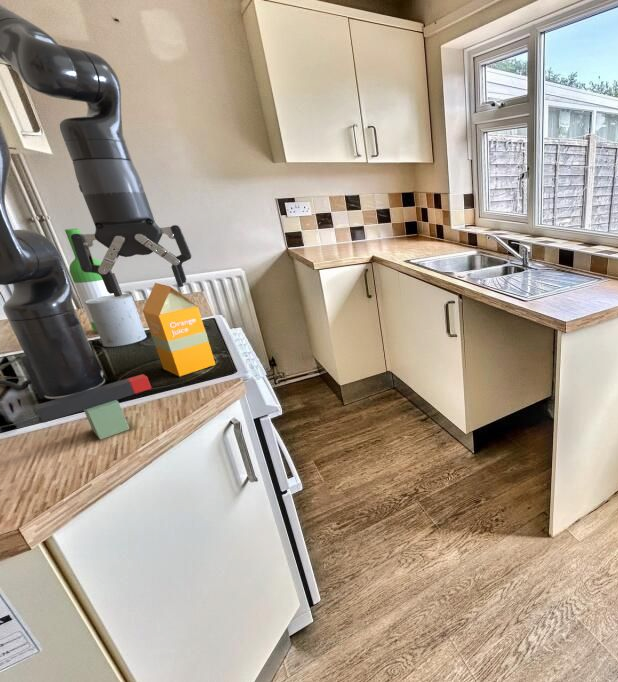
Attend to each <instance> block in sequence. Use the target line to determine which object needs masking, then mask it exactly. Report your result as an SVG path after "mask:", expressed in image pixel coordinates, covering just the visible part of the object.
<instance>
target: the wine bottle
mask: <svg viewBox="0 0 618 682" xmlns="http://www.w3.org/2000/svg"><path fill="white" fill-rule="evenodd" d="M64 232H65V234H66V236H67V239H68V242H69V245H70V247H71V250H72V252H73V255H74V259H73V260H72V261H71V263H70V264H69V269H68V270H69V273H70V276H71V279H72V282H73V284H74V288H75V289H76V292H77V294H78V297H79V299H80V301H81V304H82V306H83V309H84V312H85V314H86V317H87V319H88V322H89V323H90V325H91V329H92V330H93V332H95V333H98V331H97V329H96V326H95V324H94V321H93V319H92V316H91V314H90V311H89V309H88V306H87V304H86V303H85V302H86V301H88V300H90V299H94V298H98V297H103V296H109V295H114V293H113V294H110V293H109V292H108V291H107V289H106V287H105V284H104V282H103V279H102V277H101V275H99V274H97V273H91V272H84V271H82V269H81V266H80V263H79V260H78V257H77V254H76V251H75V248H74V245H73V242H72V239H71V236H72V235H73V234H77V233H79V234H82V233H81V230H80V228H65V229H64ZM92 259H93V262H94V265H101V263H102V261H100V260H98V259H96V258H95V257H92Z"/></svg>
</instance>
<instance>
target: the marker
mask: <svg viewBox="0 0 618 682" xmlns="http://www.w3.org/2000/svg"><path fill="white" fill-rule="evenodd" d="M151 389H152V386H151V382H150V381H149V377H148V376H147V375H145V374H143V373H142V374H139V375H135V376H132V377H128V378H124V379H121V380H118V381H114V382H110V383H106V384H105V385H104V386H100V387H97V388H93V389H90V390H86V391H83V392H80V393H76V394H73V395H69V396H66V397H62V398H59V399H56V400H52V401H50V400H48V401H45V402H42V403H39V404H35V405H34V408H35V410H36V412H37V415H38V416H39V418H40V419H41V421H42V423H44V424H45V423H47V422H50V421H54V420H57V419H61V418H63V417H66V416H69V415H73V414H76V413H80V412H82V411H83V412H84V410H86V409H89V408H92V407H95V406H98V405H101V404H105V403H108V402H111V401H114V400H117V401H118V400H121V399H123V398H126V397H130V396H133V395H135V394H136V395H137V394H139V393H142V392H145V391H148V390H151Z"/></svg>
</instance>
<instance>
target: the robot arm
mask: <svg viewBox="0 0 618 682" xmlns="http://www.w3.org/2000/svg"><path fill="white" fill-rule="evenodd" d="M0 60H1V61H3V62H5V63H6V64H8V65H9V66H11V68H12V69H13V70H14V71H15V72H16V73H17V75H18V76H20V78H21V80H22V81H23V82H24V83H25V84H26V86H27V87H29V88H30V89H32V90H33V91H36V92H38V93H40V94H42V95H45V96H47V97H51V98H55V99H59V100H60V99H61V100H68V101H74V102H81V103H82V102H83V103H86V106H87V109H86V110H87V111H86V115H85V116H74V117H68V118H65V119H62V120H61V121H60V122H59V130H60V134H61V136H62V138H63V139H62V140H63V142H64V144H65V146H66V149H67V152H68V154H69V156H70V159H71V162H72V166H73V169H74V172H75V173H74V174H75V178H76V181H77V184H78V188H79V191H80V192H81V194H82V197H83V199H84V201H85V204H86V206H87V209H88V212H89V214H90V217H91V219H92V221H93V224H94V228H95V232H94V233H81V234H79V233H77V234H73V235H72V236H71V239H72V242H73V245H74V248H75V251H76V254H77V257H78V260H79V263H80V266H81V269H82V271H84V272H91V273H97V274H99V275H101V277H102V279H103V282H104V284H105V287H106V289H107V291H108V292H109V293H110V294H113V293H114V296H115V297H118V296H122V294H123V292H122V289H121V287H120V284H119V282H118V279H117V277H116V275H115V273H114V272H113V271H112V270H113V267H114V266H115V265H116V262H117V261H118V259H119V257H124V258H130V257H134V256H136V255H138V256H148V255H150V254H153V253H154V254H156V255H158V256H159V257H160V258H163V259H164V260H166V261H167V262H168V263H170V264H171V265H170V268H171V270H172V273H173V277H174V280H175V282H176V285H177V287H178V288H183V287H184V285H185V284H186V283H187V276H186V274H185V271H184V267H183V263H185V262H187V261H189V260H191V259H192V253H191V251H190V248H189V245H188V243H187V240H186V238H185V236H184V234H183V231H182V228H181V226H179V225H177V224H174V225H171V226H166V227H160V226H159V225H158V224H157V222H156V220H155V218H154V215H153V212H152V209H151V207H150V206H151V205H150V204H149V201H148V198H147V194H146V191H145V188H144V185H143V183H142V179H141V177H140V175H139V172H138V171H137V169H136V167H135V165H134V163H133V160H132V157H131V154H130V151H129V149H128V145H127V144H126V139H125V137H124V133H123V117H122V90H121V88H122V87H121V83H120V80H119V77H118V75H117V73H116V72H115V70H114V69H113V67H112V66H111V64H110V63H108V61H107V60H105V58H103V57H102V56H101V55H99V54H97V53H94V52H92V51H88V50H83V49H79V48H75V47H71V46H66V45H61V44H58V42H57V41H56V40H55V39H54V38H53V37H52V36H51V35H50V34H49V33H47V32H46V31H45V30H43V29H42V28H41V27H39V26H37V25H35V24H34V23H32V22H30V21H29V20H28V19H25V18H24V17H22V16H20V15H18V14H17V13H16V12H14V11H12V10H10V9H9V8H8V7H5V6H3V4H1V3H0ZM11 164H12V154H11V150H10V147H9V144H8V141H7V137H6V135H5V133H4V130H3V126H2V125H1V123H0V286H8V285H12V286H13V290H12V293H11V295H10V297H9V298H8V299H7V301H6V302H5V303H3V305H2V310H3V313H4V314H5V316H6V319H7V321H8V323H9V325H10V327H11V329H12V331H13V333H14V335H15V337H16V339H17V341H18V343H19V345H20V347H21V349H22V352H23V353H24V354H23V355H21V356H20V361H21V363H22V365H23V367H24V369H25V371H26V373H27V375H28V377H29V378H28V379H26V380H24V381H23V382H22V383H21V384H18V383H16V382H13V381H9V380H3V379H0V385H2V386H7V387H11V388H13V389H15V390H19V391H20V390H22V391H23V390H26V389H28V388H29V385H32V387H33V389H34V390H35V392H36V393H37V395H38V398H39V400H46V401H52V400H56V399H59V398H62V397H66V396H69V395H73V394H76V393H80V392H83V391H86V390H90V389H93V388H97V387H100V386H104V385H107V381H106V379H105V377H104V371H103V369H101V368H100V365H99V363H98V361H97V357H96V356H95V354H94V352H93V349H92V347H91V344H90V342H89V339H88V337H87V334H86V332H85V330H84V327H83V326H82V323H81V321H80V318H79V316H78V313H77V311H76V309H75V305H74V304H73V294H74V292H73V286H72V284H71V281H70V278H69V275H68V272H67V269H66V267H65V263H64V261H63V259H62V256H61V254H60V252H59V251H58V249H57V247H56V246H55V244H54V243H53V242H52V241H51V240H50V239H49V238H48V237H46V236H45V235H43V234H42V233H39V232H37V231H34V230H31V229H14V228H13V226H12V222H11V220H10V217H9V215H8V210H7V207H6V206H7V205H6V191H7V186H8V182H9V178H10V172H11V166H12V165H11ZM163 235H166V236H167V238H169V239H171V240H175V243H176V245H177V247H178V249H179V252H180V254H179V255H175V254H173V253H172V252H171V251H169V250H168V249H167V248H166V247H164V246H163V245H161V244H160V243H159V242H160V241H161V238H162V236H163ZM95 241H97V242H98V243H100V244H101V245H103V246H104V247H106V248H107V251H106V253H105V254H104V257H103V259H102V261H101V265H94V262H93V259H92V258H93V255H92V253H91V250H90V248H92V247H93V246H94V242H95Z"/></svg>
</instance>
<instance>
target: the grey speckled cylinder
mask: <svg viewBox="0 0 618 682" xmlns="http://www.w3.org/2000/svg"><path fill="white" fill-rule="evenodd" d="M85 303H86V304H87V306H88V309H89V311H90V314H91V316H92V319H93V321H94V324H95V326H96V329H97V331H98V332H97V333H98V337H99V338H100V341H101V343H102V346H103V347H105V348H106V347H107V348H113V347H122V346H127V345H132V344H135V343H138V342H141V341H143V340H145V339H146V338H147V333H146V332H145V331H146V330H145V329H144V326H143V322H142V320H141V317H140V315H139V312H138V309H137V307H136V303H135V300H134V298H133V294H130V293H122V296H118V297H115V296H114V295H109V296H103V297H98V298H94V299H90V300H88V301H86V302H85Z"/></svg>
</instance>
